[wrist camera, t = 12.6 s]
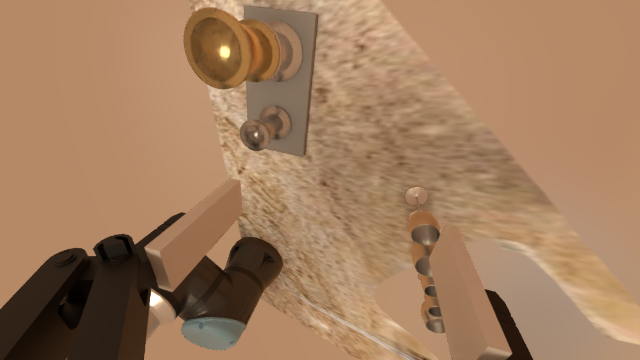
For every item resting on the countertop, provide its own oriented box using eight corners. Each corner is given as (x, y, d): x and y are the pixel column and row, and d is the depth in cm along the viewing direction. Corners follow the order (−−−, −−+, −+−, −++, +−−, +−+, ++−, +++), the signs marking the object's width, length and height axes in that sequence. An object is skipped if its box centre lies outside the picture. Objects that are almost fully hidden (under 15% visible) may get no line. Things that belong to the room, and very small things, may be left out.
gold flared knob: (279, 85, 34) (249, 94, 26) (231, 77, 35) (189, 83, 27) (281, 23, 30) (247, 11, 23) (227, 16, 31) (177, 3, 24)
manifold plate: (305, 154, 49) (302, 156, 48) (251, 143, 51) (248, 145, 49) (318, 15, 37) (315, 13, 36) (248, 6, 39) (243, 5, 37)
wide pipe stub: (301, 85, 41) (284, 91, 34) (253, 77, 42) (228, 81, 36) (305, 24, 37) (287, 17, 30) (252, 17, 38) (223, 9, 31)
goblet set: (399, 188, 48) (404, 230, 36) (430, 184, 46) (446, 227, 34) (417, 284, 59) (425, 340, 47) (442, 284, 57) (457, 342, 45)
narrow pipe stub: (290, 141, 47) (272, 158, 39) (260, 135, 48) (237, 150, 40) (292, 108, 43) (273, 120, 36) (260, 102, 44) (234, 112, 37)
